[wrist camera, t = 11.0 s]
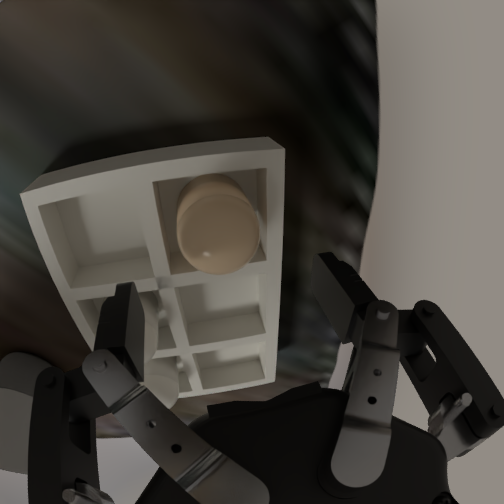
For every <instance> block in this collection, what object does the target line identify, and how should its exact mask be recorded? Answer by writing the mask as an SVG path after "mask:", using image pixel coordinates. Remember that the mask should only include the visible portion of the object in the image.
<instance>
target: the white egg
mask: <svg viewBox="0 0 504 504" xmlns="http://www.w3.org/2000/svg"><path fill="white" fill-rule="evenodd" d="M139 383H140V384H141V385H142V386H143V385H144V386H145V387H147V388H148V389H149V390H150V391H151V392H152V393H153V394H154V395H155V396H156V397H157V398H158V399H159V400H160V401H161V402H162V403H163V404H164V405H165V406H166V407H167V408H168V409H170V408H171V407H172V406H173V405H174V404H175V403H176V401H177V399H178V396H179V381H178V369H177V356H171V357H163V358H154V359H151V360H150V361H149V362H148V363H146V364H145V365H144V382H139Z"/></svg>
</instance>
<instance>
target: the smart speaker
mask: <svg viewBox="0 0 504 504" xmlns="http://www.w3.org/2000/svg"><path fill="white" fill-rule="evenodd" d="M48 367H53V366H52V365H51V364H50V363H48V362H47V361H45V360H43V359H42V358H40V357H38V356H35V355H32V354H29V353H25V352H13V353H10V354H8V355H6V356H5V357H4V358H3V359H2V360H1V361H0V469H2V470H6V471H11V472H15V473H21V474H27V475H28V443H29V429H30V418H31V410H32V402H33V395H34V388H35V382H36V379H37V376H38V375H39V373H40V372H41V371H42V370H44V369H45V368H48Z"/></svg>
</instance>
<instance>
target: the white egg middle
mask: <svg viewBox="0 0 504 504" xmlns="http://www.w3.org/2000/svg"><path fill="white" fill-rule="evenodd" d="M138 294H139V297H140V300H141V303H142V306H143V310H144V315H145V337H144V365H145V364H146V363H148V362H149V361H150V360H151V359H152V357H153V356H154V354H155V352H156V350H157V346H158V307H159V305H158V300H157V297H156V296H155V294H154V293H153V292H152V291H146V292H139V293H138ZM109 297H110V296H109ZM106 299H107V297H104V299H103V303H104V301H105V300H106ZM103 303H102V304H103ZM98 324H99V323H98Z"/></svg>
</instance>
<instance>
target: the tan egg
mask: <svg viewBox="0 0 504 504" xmlns="http://www.w3.org/2000/svg"><path fill="white" fill-rule="evenodd" d="M260 234H261V232H260V224H259V220H258V218H257V215H256V213H255V211H254V209H253V208H252V206H251V204H250V202H249V200H248V199H247V197H246V195H245V193H244V191H243V190H242V188H241V186H240V185H239V184H238V183H237V182H236V181H235V180H233V179H232V178H230V177H228V176H225V175H222V174H216V173H211V174H204V175H201V176H198V177H196V178H194V179H193V180H191V181H190V182H189V183H187V184H186V185H185V186H184V188H183V189H182V190H181V192H180V194H179V197H178V200H177V240H178V245H179V248H180V250H181V252H182V254H183V256H184V257H185V259H186V260H187V261H188V262H189V263H190V264H191V265H192V266H193V267H195V268H196V269H198V270H200V271H202V272H204V273H207V274H212V275H226V274H230V273H233V272H235V271H238V270H239V269H241V268H243V267H244V266H245V265H246V264H247V263H248V262H249V261H250V260H251V259H252V258H253V256H254V255H255V253H256V251H257V249H258V246H259V242H260Z"/></svg>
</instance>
